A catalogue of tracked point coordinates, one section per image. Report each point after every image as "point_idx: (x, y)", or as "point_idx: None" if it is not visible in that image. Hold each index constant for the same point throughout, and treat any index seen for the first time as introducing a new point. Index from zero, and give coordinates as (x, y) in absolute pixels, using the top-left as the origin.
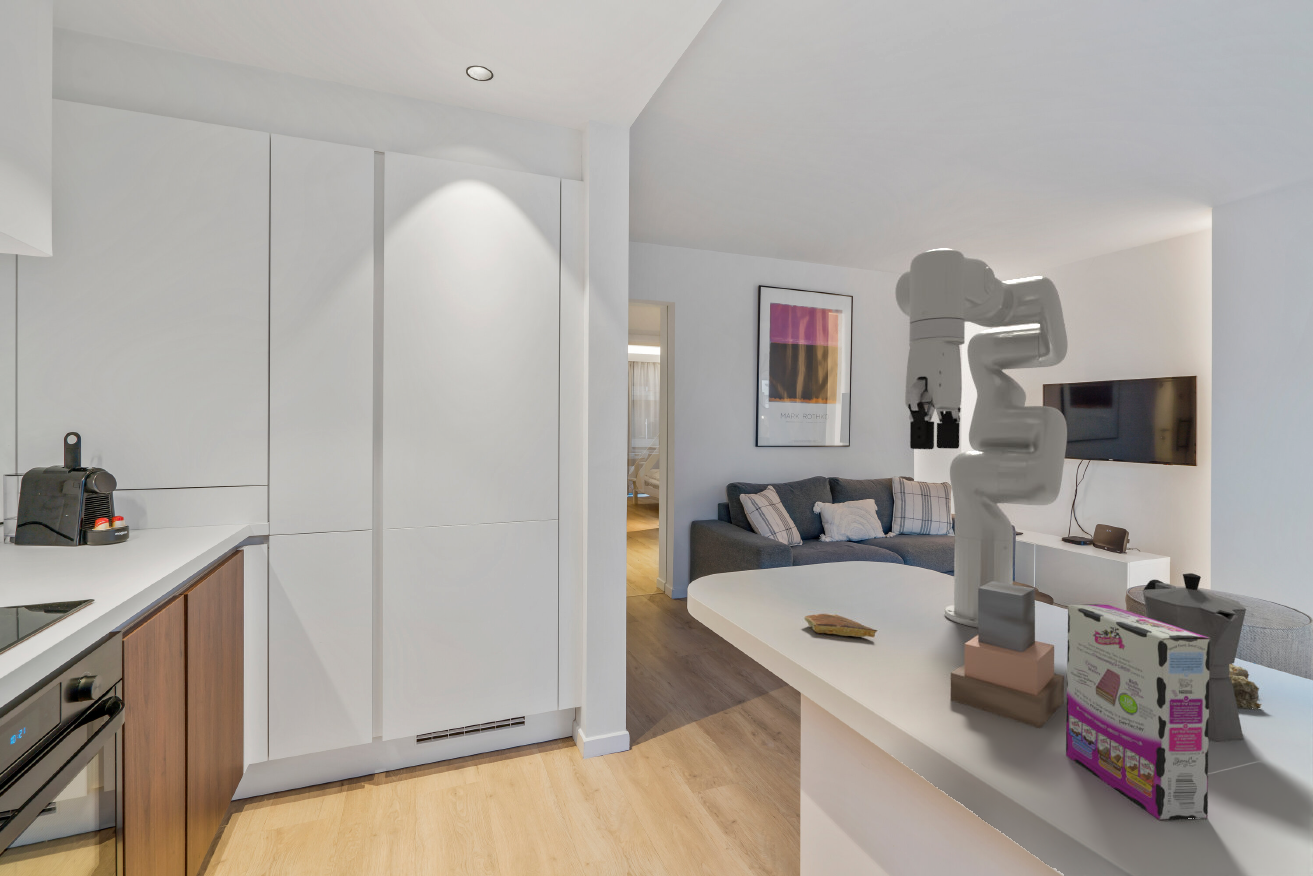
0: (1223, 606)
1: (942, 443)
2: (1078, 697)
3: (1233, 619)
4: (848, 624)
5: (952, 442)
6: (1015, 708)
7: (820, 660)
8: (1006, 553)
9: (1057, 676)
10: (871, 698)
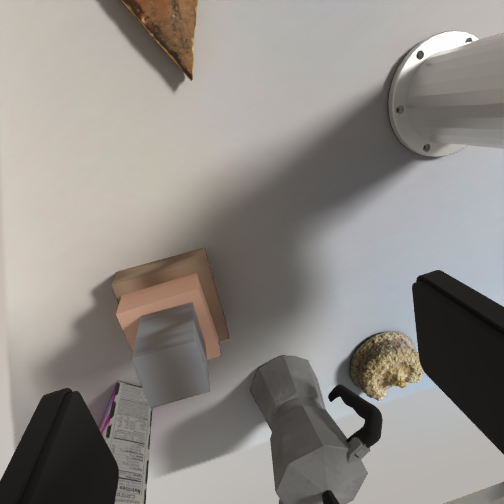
0: None
1: (426, 318)
2: (102, 435)
3: None
4: (166, 25)
5: (437, 367)
6: None
7: (38, 95)
8: None
9: (221, 336)
10: (23, 229)
